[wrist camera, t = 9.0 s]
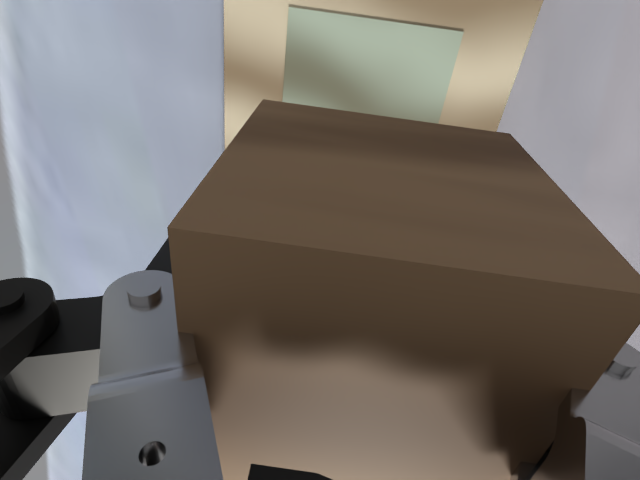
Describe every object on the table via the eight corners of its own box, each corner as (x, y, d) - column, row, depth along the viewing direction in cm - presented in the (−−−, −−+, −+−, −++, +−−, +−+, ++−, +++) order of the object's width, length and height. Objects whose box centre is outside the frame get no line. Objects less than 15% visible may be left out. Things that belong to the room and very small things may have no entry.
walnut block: (263, 99, 10) (166, 227, 5) (509, 133, 10) (659, 296, 5) (255, 289, 13) (192, 482, 8) (441, 315, 13) (491, 524, 8)
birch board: (232, -174, 17) (222, -186, 16) (574, -126, 17) (592, -134, 16) (231, 236, 28) (225, 249, 27) (439, 266, 28) (443, 281, 27)
